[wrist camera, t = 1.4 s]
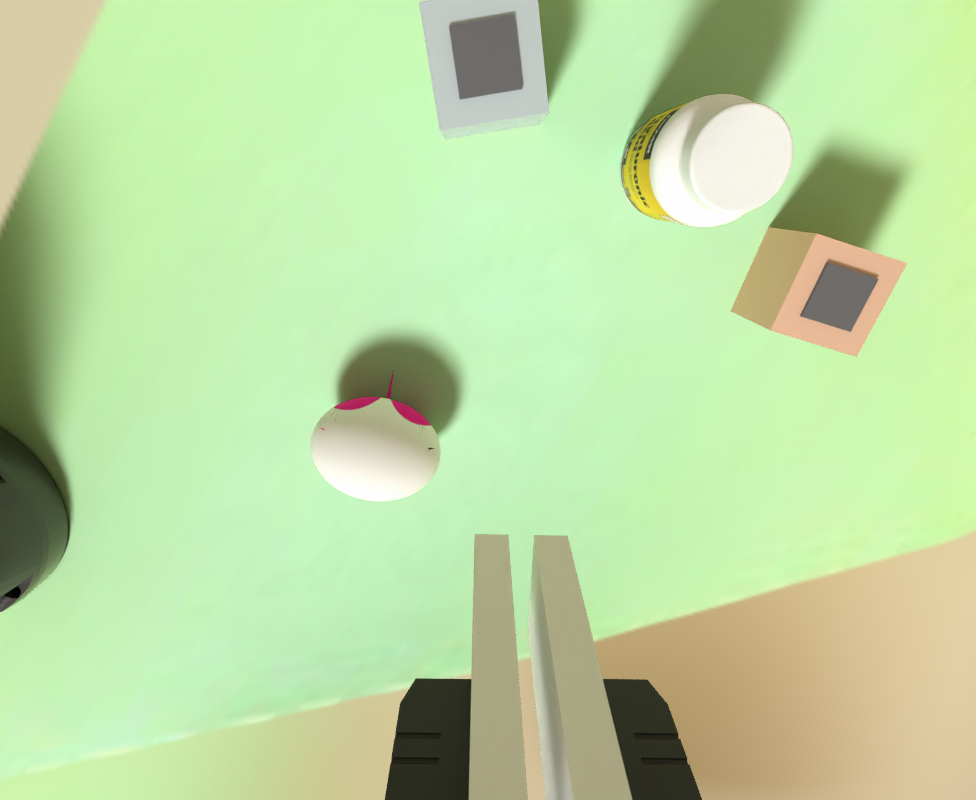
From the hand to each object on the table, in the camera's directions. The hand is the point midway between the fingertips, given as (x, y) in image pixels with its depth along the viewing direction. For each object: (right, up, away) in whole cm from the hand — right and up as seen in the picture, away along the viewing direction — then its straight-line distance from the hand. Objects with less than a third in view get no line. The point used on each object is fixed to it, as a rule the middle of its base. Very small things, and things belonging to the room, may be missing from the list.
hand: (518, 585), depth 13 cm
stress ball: (-7, +3, +23) cm, 24 cm away
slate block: (-1, +21, +16) cm, 27 cm away
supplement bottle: (+9, +17, +18) cm, 26 cm away
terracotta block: (+17, +11, +20) cm, 28 cm away
